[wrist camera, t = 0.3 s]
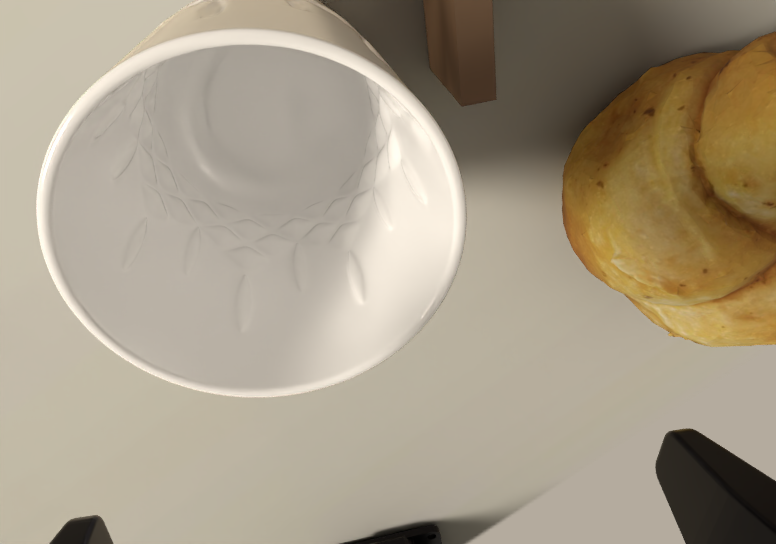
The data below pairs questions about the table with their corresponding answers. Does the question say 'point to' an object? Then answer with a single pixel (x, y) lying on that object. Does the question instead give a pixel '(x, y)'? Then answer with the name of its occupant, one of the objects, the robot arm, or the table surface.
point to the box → (462, 47)
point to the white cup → (252, 202)
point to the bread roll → (685, 195)
